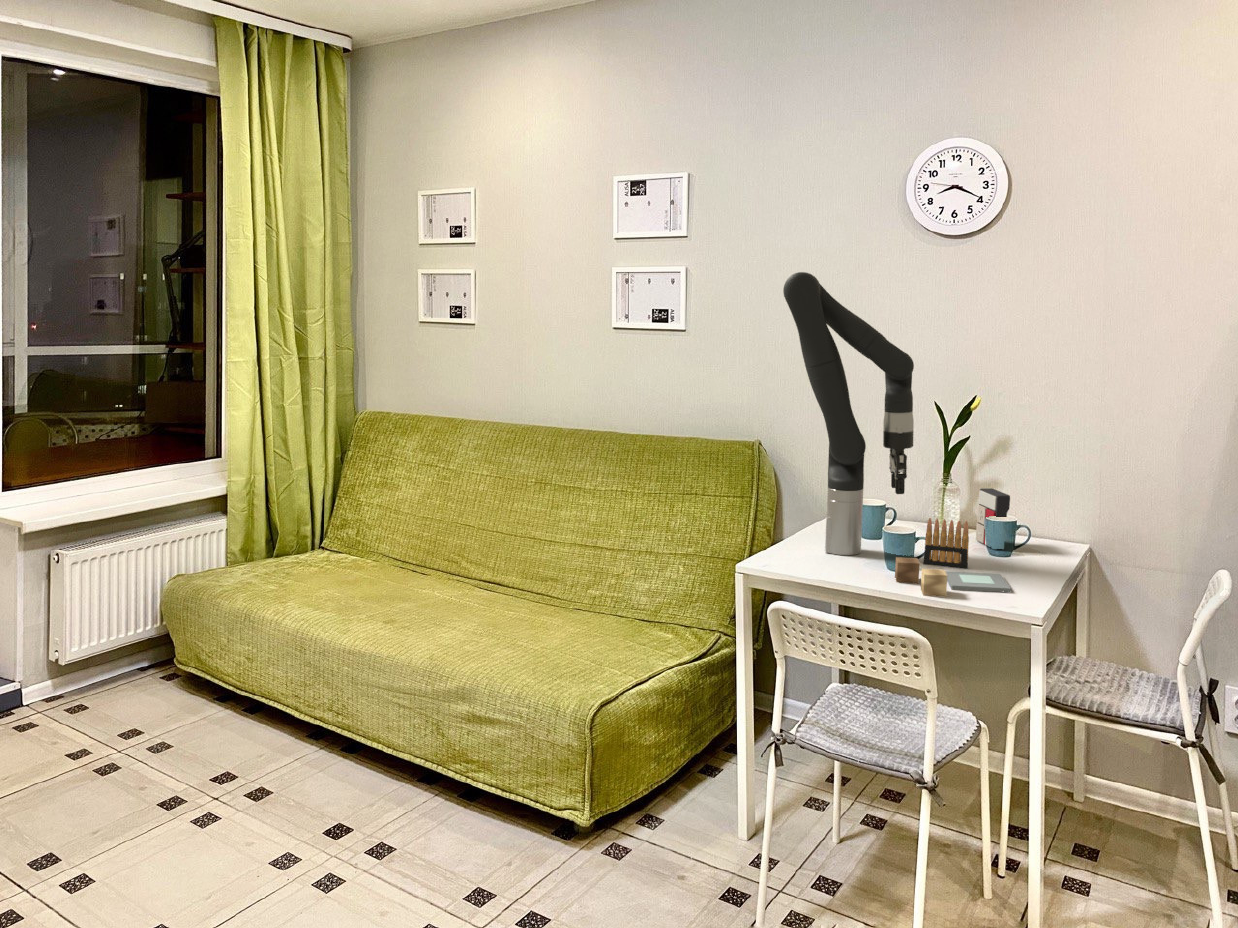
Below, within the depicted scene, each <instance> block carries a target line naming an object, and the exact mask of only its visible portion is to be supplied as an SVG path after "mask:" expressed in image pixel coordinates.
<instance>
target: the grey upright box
mask: <svg viewBox="0 0 1238 928" xmlns="http://www.w3.org/2000/svg"><path fill="white" fill-rule="evenodd" d="M978 492H979V493H978V505H977V513H976V522H977V523H976V531H975V540H976V541H977V542H978V541H979V542H978V543H980V544H981V545H984V546H985V529H984V519H985V518H986V517H989V516H996V517H1008V515H1007V514H1008V512H1009V510H1010V507H1011V506H1010V504H1011V495H1010V494H1007V493H1004V492H1003V491H1000V490H997V489H994V488H980V489H979V490H978Z"/></svg>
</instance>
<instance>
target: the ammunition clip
mask: <svg viewBox="0 0 1238 928" xmlns="http://www.w3.org/2000/svg"><path fill="white" fill-rule="evenodd" d="M963 525H964V526H963V532H962V524H961V521H960V520H958V521H957V523H956V527H955V525H954V520H953V519H951V520H950V522H949V525H948V526H949V527H948V529H947V521H946V519H943V521H942V523H941V529H940V521H939V518H936V520H935V522H934V526H933V523H932V518H931V517H929V518H928V520H927V524H926V532H925V541H924V552H923V562H922V565H926V566H933V567H934V566H935V567H943V568H944V567H946V568H953V569H954V568H955V569H962V570H963V569H964V570H967V569H968V568H969V542H970V537H969V523H968V520H966V521H965V523H964V524H963ZM933 527H934V528H933ZM954 527H955V528H956V529H955V528H954ZM940 530H941V531H940ZM947 530H948V533H947ZM954 531H955V532H954Z"/></svg>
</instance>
